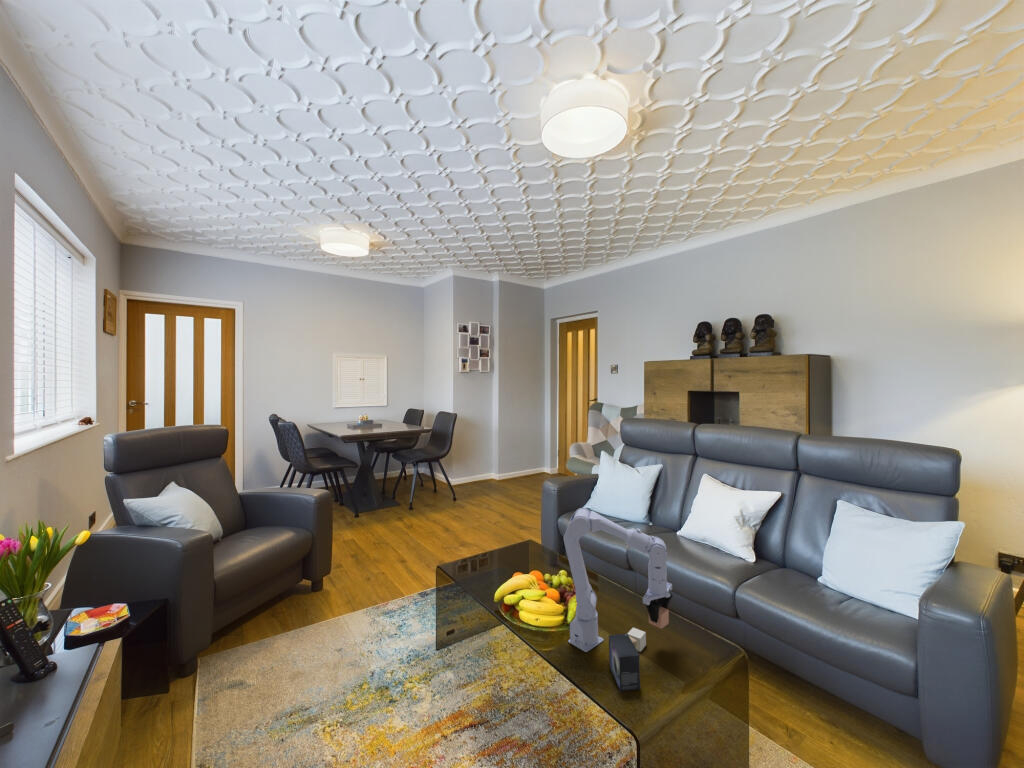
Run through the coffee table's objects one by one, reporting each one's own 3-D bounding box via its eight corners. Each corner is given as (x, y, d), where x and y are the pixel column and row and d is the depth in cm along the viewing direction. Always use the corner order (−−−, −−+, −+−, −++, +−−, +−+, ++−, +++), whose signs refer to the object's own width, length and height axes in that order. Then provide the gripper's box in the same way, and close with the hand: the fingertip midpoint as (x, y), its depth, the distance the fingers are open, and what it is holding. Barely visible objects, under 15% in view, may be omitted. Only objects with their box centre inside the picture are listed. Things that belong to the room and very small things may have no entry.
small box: (607, 667, 138) (607, 634, 138) (628, 665, 139) (627, 632, 138) (619, 692, 128) (618, 656, 127) (641, 690, 128) (640, 654, 128)
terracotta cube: (661, 628, 142) (661, 614, 142) (648, 623, 146) (648, 609, 146) (668, 623, 145) (668, 609, 145) (656, 617, 149) (656, 604, 149)
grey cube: (640, 652, 145) (640, 638, 145) (627, 647, 148) (627, 633, 148) (645, 645, 149) (645, 632, 148) (633, 640, 151) (632, 627, 151)
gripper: (656, 589, 137) (657, 632, 138) (680, 573, 147) (681, 614, 147) (636, 581, 143) (637, 623, 143) (660, 567, 152) (661, 606, 153)
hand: (658, 618), depth 146 cm, fingers closed on terracotta cube, 4 cm apart
